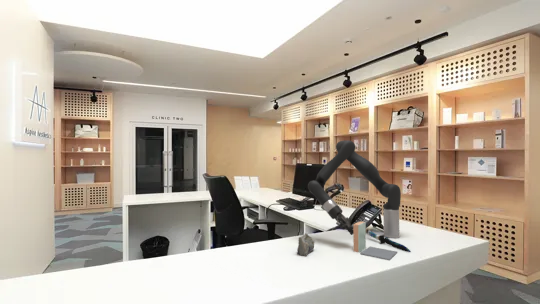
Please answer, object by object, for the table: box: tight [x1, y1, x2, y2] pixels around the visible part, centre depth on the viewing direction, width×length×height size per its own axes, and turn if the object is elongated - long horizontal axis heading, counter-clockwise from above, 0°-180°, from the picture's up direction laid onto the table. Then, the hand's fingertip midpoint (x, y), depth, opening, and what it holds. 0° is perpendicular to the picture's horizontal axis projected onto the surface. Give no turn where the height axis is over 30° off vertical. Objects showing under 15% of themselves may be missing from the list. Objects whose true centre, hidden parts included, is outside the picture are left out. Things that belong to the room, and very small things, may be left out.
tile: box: [352, 221, 367, 253], centre depth 146 cm, size 10×3×14 cm, turn 142°
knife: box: [366, 229, 412, 253], centre depth 155 cm, size 31×3×4 cm, turn 21°
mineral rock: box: [296, 233, 315, 257], centre depth 141 cm, size 13×11×10 cm
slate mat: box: [359, 246, 398, 261], centre depth 140 cm, size 15×14×1 cm
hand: (353, 233), depth 148 cm, fingers closed
